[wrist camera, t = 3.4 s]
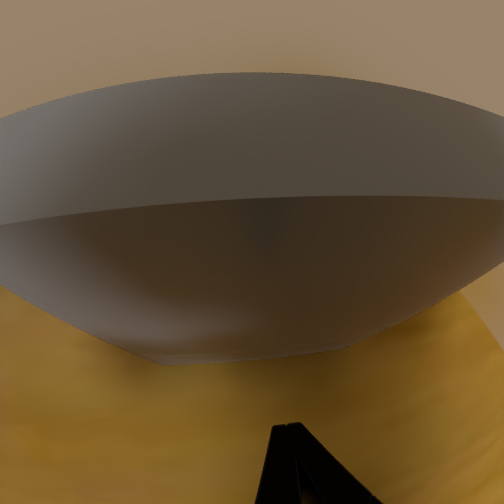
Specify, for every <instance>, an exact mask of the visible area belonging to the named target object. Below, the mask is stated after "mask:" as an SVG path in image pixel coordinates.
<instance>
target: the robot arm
mask: <svg viewBox="0 0 504 504" xmlns="http://www.w3.org/2000/svg"><path fill="white" fill-rule="evenodd" d="M255 504H383V503H382V502H381V501H380V500H379V499H377V498H376V497H375V496H372V493H371V492H370V491H369V490H368V489H366V488H365V487H364V486H363V485H362V484H361V483H360V482H359V481H358V480H357V479H356V478H355V477H354V476H353V475H352V474H351V473H350V472H349V471H348V470H347V469H346V468H345V467H344V466H343V465H342V464H341V463H340V462H338V461H337V460H336V459H335V458H334V456H333V455H332V454H331V453H330V452H329V451H328V450H327V449H326V448H325V447H324V446H323V445H322V444H321V443H320V442H319V441H318V440H317V439H316V438H315V437H314V436H313V435H312V434H311V433H310V432H309V431H308V430H307V429H306V427H305V426H304V425H303V424H302V423H300V422H295V423H289V424H287V425H285V424H281V425H274V426H273V427H272V429H271V434H270V439H269V443H268V448H267V453H266V457H265V462H264V466H263V471H262V475H261V479H260V483H259V488H258V492H257V496H256V500H255Z"/></svg>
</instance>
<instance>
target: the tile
mask: <svg viewBox="0 0 504 504" xmlns="http://www.w3.org/2000/svg"><path fill="white" fill-rule="evenodd" d="M502 262H504V117H502V116H499V115H497V114H494V113H491V112H489V111H486V110H483V109H480V108H477V107H474V106H471V105H468V104H465V103H461V102H458V101H455V100H451V99H448V98H444V97H440V96H437V95H433V94H429V93H425V92H421V91H416V90H412V89H407V88H402V87H397V86H392V85H387V84H382V83H376V82H369V81H363V80H355V79H348V78H340V77H331V76H320V75H308V74H292V73H217V74H202V75H188V76H177V77H168V78H160V79H153V80H145V81H139V82H133V83H127V84H121V85H116V86H111V87H106V88H101V89H96V90H92V91H88V92H84V93H80V94H75V95H72V96H68V97H64V98H61V99H57V100H53V101H50V102H47V103H44V104H41V105H37V106H34V107H31V108H28V109H25V110H22V111H19V112H17V113H14V114H11V115H8V116H6V117H3V118H1V119H0V285H2V286H3V287H5V288H6V289H8V290H9V291H11V292H13V293H14V294H16V295H18V296H19V297H21V298H23V299H24V300H26V301H28V302H29V303H31V304H33V305H35V306H36V307H38V308H40V309H42V310H43V311H45V312H47V313H49V314H51V315H52V316H54V317H56V318H58V319H60V320H62V321H64V322H66V323H68V324H70V325H72V326H74V327H76V328H78V329H80V330H82V331H84V332H86V333H88V334H90V335H92V336H94V337H96V338H98V339H101V340H103V341H105V342H107V343H109V344H112V345H114V346H116V347H118V348H121V349H123V350H125V351H128V352H130V353H132V354H135V355H137V356H140V357H142V358H145V359H147V360H150V361H152V362H155V363H157V364H160V365H181V364H204V363H221V362H235V361H247V360H258V359H268V358H277V357H285V356H293V355H301V354H308V353H315V352H322V351H329V350H335V349H341V348H347V347H350V346H352V345H354V344H356V343H359V342H361V341H363V340H365V339H367V338H370V337H372V336H374V335H376V334H378V333H380V332H382V331H384V330H386V329H388V328H390V327H392V326H395V325H397V324H398V323H400V322H402V321H404V320H406V319H408V318H410V317H412V316H414V315H416V314H418V313H420V312H422V311H423V310H425V309H427V308H429V307H431V306H433V305H434V304H436V303H438V302H440V301H441V300H443V299H445V298H447V297H448V296H450V295H452V294H454V293H455V292H457V291H459V290H460V289H462V288H463V287H465V286H467V285H468V284H470V283H472V282H473V281H475V280H476V279H478V278H479V277H481V276H483V275H484V274H486V273H487V272H489V271H490V270H492V269H493V268H495V267H496V266H498V265H499V264H501V263H502Z"/></svg>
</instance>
